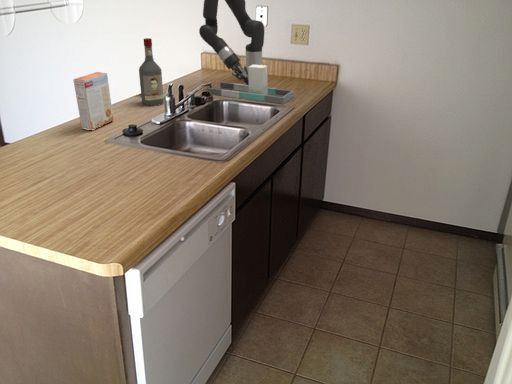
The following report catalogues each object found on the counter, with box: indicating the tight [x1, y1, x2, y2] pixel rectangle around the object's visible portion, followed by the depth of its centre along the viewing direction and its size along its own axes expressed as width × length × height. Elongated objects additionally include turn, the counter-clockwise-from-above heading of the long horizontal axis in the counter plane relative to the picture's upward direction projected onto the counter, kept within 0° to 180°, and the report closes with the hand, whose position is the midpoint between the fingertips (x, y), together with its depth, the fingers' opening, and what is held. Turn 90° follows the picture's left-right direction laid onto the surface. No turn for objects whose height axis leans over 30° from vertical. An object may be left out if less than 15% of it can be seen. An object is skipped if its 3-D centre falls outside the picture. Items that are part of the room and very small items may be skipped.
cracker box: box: [73, 71, 114, 129], centre depth 193 cm, size 14×6×21 cm, turn 157°
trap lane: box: [207, 81, 295, 105], centre depth 244 cm, size 15×42×3 cm, turn 66°
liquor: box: [138, 37, 165, 106], centre depth 222 cm, size 9×9×30 cm
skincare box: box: [248, 64, 269, 95], centre depth 239 cm, size 8×7×16 cm
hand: (250, 84), depth 242 cm, fingers closed
